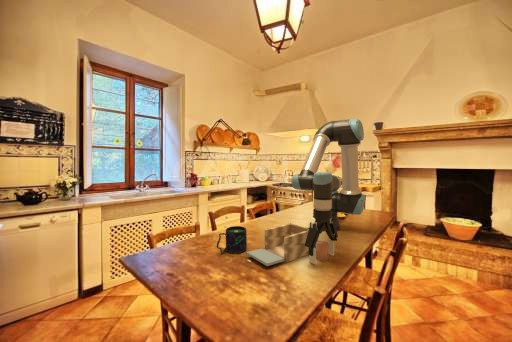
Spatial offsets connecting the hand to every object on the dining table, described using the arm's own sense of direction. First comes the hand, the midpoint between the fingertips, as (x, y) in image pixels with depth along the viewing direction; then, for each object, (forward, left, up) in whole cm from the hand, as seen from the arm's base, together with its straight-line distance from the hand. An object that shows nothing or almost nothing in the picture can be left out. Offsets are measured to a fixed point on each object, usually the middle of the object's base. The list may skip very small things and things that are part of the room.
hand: (322, 258), depth 98 cm
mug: (+26, -32, 0) cm, 41 cm away
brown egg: (0, 0, 0) cm, 0 cm away
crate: (+6, -14, 0) cm, 15 cm away
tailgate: (+15, -14, +1) cm, 21 cm away
